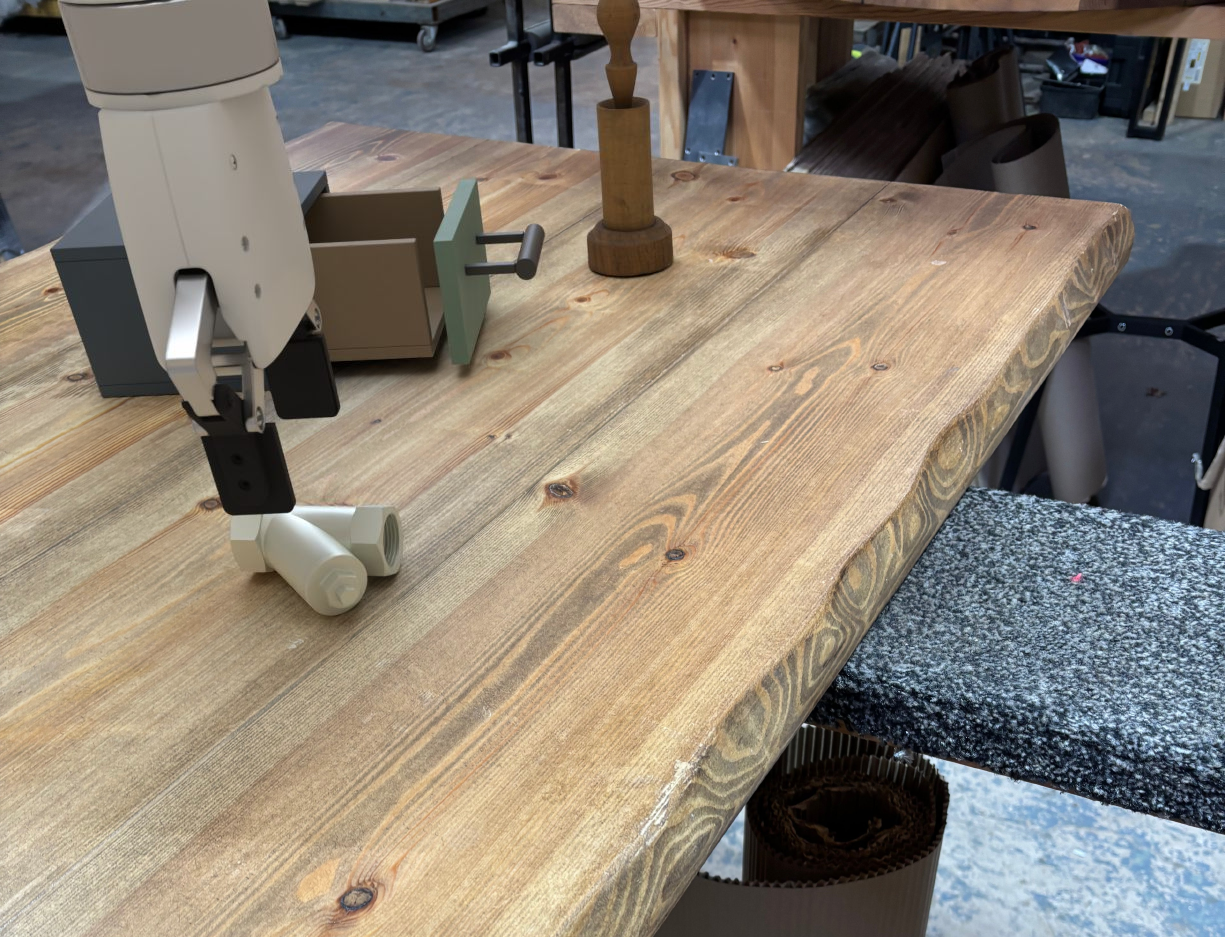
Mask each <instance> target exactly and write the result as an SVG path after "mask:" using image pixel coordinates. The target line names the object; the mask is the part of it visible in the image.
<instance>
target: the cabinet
mask: <svg viewBox="0 0 1225 937" xmlns="http://www.w3.org/2000/svg"><path fill="white" fill-rule="evenodd" d="M292 173H293V177H294V181H295V185H296V189H297V192H298V196H299V201H300V205H301V209H302V213H303V217H304V216H305V214H306V213H307V212H308V210H309V209H310V207H311V206H312V204H313V203H314V201H315V200H316V199H317V197H318V196H319V194H320V193H331V191H330V186H329V180H328V175H327V171H326V170H325V169H323V170H309V171H306V170H305V171H292ZM49 252H50V255H51V258H52V261H53V262H54V266H55V268H56V272H57V275H58V277H59V281H60V283H61V286H62V288H63V292H64V294H65V297H66V300H67V303H68V305H69V308H70V311H71V314H72V316H73V320H74V322H75V325H76V328H77V331H78V333H79V338H80V340H81V342H82V345H83V347H84V350H85V354H86V356H87V359H88V362H89V366H90V368H91V371H92V373H93V376H94V379H95V382H96V384H97V388H98V390H99V394H100V396H101V398H117V397H138V396H139V397H140V396H162V395H180V393H179V391H178V390H177V388H176V386H175V385H174V383H173V382H172V380H171V378H170V377H169V375H168V373H167V371H166V370H165V369H164V368H163V367H162V366H161V365H160V363H159V362H158V360H157V357H156V354H155V351H154V348H153V345H152V342H151V338H150V335H149V331H148V328H147V324H146V321H145V317H144V314H143V311H142V307H141V304H140V300H139V296H138V293H137V289H136V286H135V282H134V278H133V275H132V271H131V267H130V264H129V260H128V256H127V252H126V248H125V245H124V241H123V237H122V233H121V229H120V225H119V221H118V217H117V213H116V209H115V204H114V200H113V196H112V192H111V193H110V194H109V195H107V196H106V197H105V198H104V199H103V200H102V201H101V202H100V203H99V204H97V205H96V207H94V208H93V209H92V210H90V211H89V213H88V214H87V215H86V216H84V217H83V218H82V219H81V220H80V221H79V222H78V223H77V224H76V225H74V227H72V228H71V229H70V230H68V232H67V233H66V234H65V235H64V236H62V237H61V238H60V239H59V240H58V241H57V242H56V243H55V244H53V245H52V246H51V247H50V248H49ZM241 351H244V345H242V346H225V347H212V349H211V353H223V352H241ZM263 370H264V391H270V388H269V384H268V381H267V377H266V373H265V369H264V368H263ZM217 382H218V383H219V384H227V385H228V386H229V387H230V388H231V389H232V390H233V391H234V392H242V375H227V376H217Z"/></svg>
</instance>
